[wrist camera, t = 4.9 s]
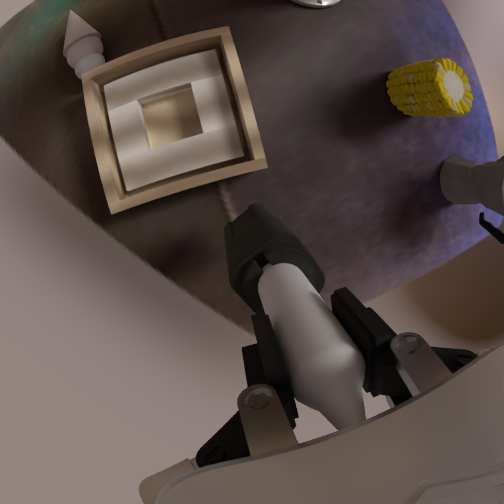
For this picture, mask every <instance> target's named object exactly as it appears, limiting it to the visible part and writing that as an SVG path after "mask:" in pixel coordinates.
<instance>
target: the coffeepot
mask: <svg viewBox="0 0 504 504" xmlns="http://www.w3.org/2000/svg"><path fill="white" fill-rule="evenodd" d="M440 186H441V190H442V193H443V195H444V197H445V198H446V199H447V200H448V201H450V202H452V203H453V204H478V203H481V204H482V205H484V206H485V207H486V208H489V209H491V210H493V211H495V212H497V213H499V214H501V215H503V216H504V156H503V157H501V158H500V159H499V160H497V161H496V162H487V163H484V164H483V165H480V164H478V163H477V162H474V161H471V160H468V159H464V158H461V157H457V156H453V157H450V158H448V159H447V160H445V161H444V162H443V165H442V168H441V171H440ZM479 223H480V225H481V226H482V227H484V228H485V229H486V230H487V231H488V232H489V233H490V234H491V235H493V236H494V237H495V238H496V239H497V240H498V241H499V242H500V243H501V244H504V234H503V233H502V232H501V230H499V229H497V228H495V227H494V226H493V225H492V224H491V223H490V222H487V221H485V220H484V212H482V213H480V216H479Z"/></svg>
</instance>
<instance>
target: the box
mask: <svg viewBox="0 0 504 504" xmlns="http://www.w3.org/2000/svg"><path fill="white" fill-rule="evenodd" d="M81 76H82V85H83V92H84V99H85V106H86V112H87V118H88V123H89V128H90V134H91V138H92V143H93V148H94V152H95V157H96V161H97V165H98V169H99V173H100V177H101V181H102V184H103V188H104V192H105V195H106V199H107V202H108V205H109V209H110V212H111V215H112V214H114V213H117V212H120V211H123V210H125V209H128V208H131V207H134V206H137V205H140V204H143V203H146V202H148V201H151V200H155V199H158V198H161V197H164V196H167V195H170V194H173V193H176V192H180V191H183V190H186V189H190V188H193V187H196V186H200V185H203V184H207V183H210V182H214V181H217V180H221V179H225V178H228V177H232V176H236V175H240V174H244V173H248V172H252V171H256V170H260V169H264V168H268V166H267V162H266V158H265V154H264V150H263V146H262V142H261V139H260V135H259V131H258V127H257V123H256V120H255V116H254V112H253V108H252V105H251V101H250V98H249V94H248V90H247V87H246V83H245V80H244V76H243V73H242V69H241V66H240V62H239V59H238V56H237V52H236V49H235V46H234V42H233V39H232V36H231V33H230V29H229V26H226V27H220V28H215V29H210V30H205V31H201V32H197V33H192V34H188V35H185V36H181V37H177V38H174V39H170V40H167V41H164V42H160V43H157V44H154V45H151V46H148V47H145V48H142V49H140V50H137V51H134V52H132V53H129V54H126V55H124V56H121V57H119V58H117V59H114V60H112V61H110V62H107V63H105V64H103V65H101V66H98V67H96V68H94V69H92V70H90V71H88V72H86V73H84V74H82V75H81Z"/></svg>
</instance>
